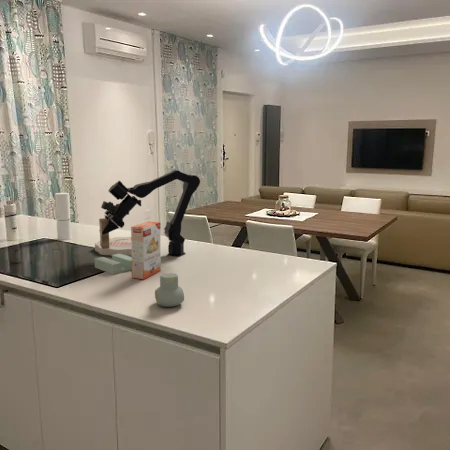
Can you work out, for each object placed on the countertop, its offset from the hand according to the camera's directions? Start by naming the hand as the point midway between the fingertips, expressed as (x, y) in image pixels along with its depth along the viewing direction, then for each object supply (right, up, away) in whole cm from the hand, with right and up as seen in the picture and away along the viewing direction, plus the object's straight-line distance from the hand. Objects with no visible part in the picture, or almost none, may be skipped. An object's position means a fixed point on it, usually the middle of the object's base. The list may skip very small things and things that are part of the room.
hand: (101, 232), depth 200 cm
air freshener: (+36, -23, -50) cm, 66 cm away
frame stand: (+9, -15, -7) cm, 19 cm away
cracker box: (+23, -17, -17) cm, 33 cm away
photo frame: (+1, -6, +2) cm, 7 cm away
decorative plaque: (+6, -9, +27) cm, 29 cm away
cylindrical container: (-33, -4, +49) cm, 59 cm away
